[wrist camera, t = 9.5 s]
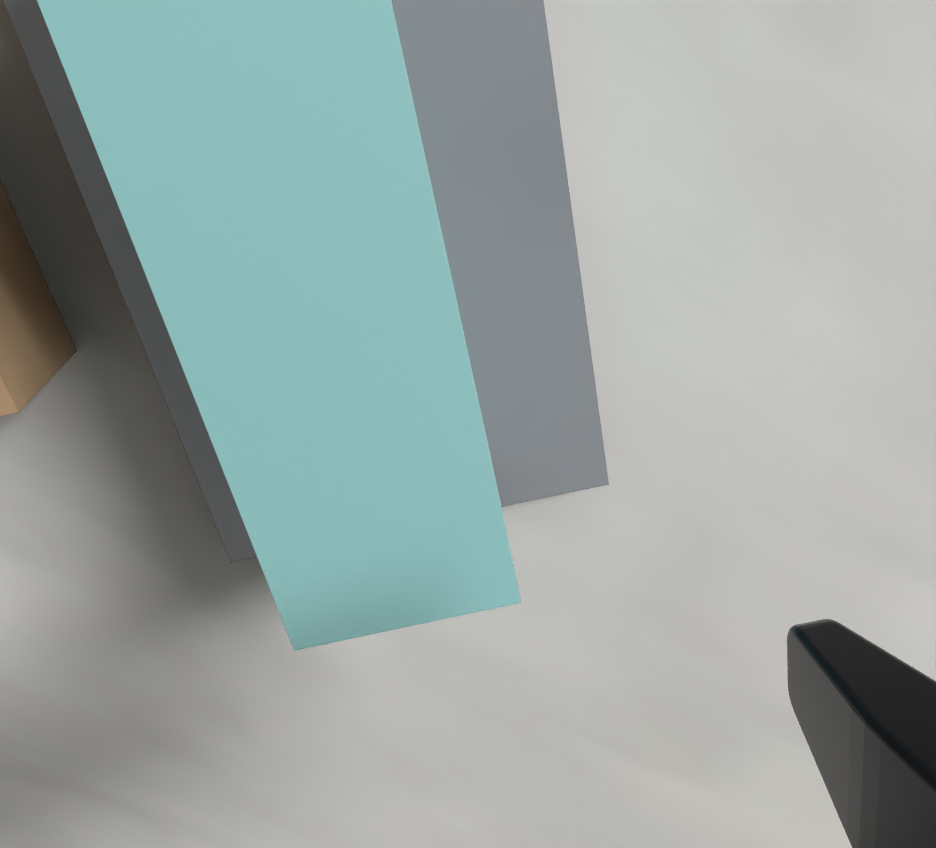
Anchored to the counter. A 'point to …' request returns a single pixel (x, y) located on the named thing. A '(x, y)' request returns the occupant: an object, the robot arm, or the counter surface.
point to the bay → (25, 319)
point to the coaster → (464, 233)
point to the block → (302, 293)
